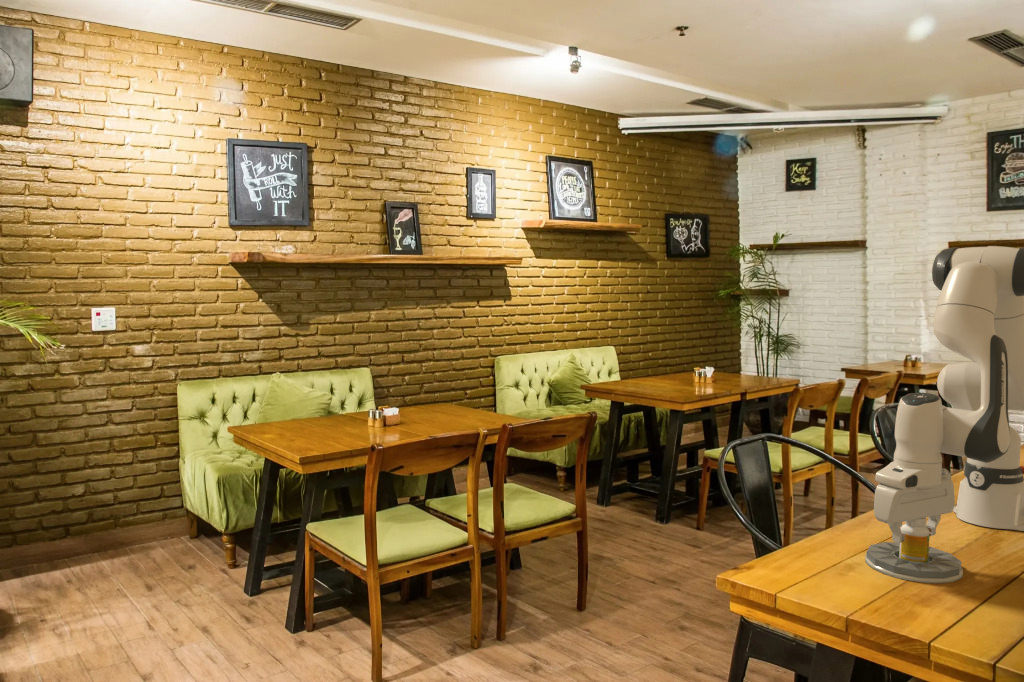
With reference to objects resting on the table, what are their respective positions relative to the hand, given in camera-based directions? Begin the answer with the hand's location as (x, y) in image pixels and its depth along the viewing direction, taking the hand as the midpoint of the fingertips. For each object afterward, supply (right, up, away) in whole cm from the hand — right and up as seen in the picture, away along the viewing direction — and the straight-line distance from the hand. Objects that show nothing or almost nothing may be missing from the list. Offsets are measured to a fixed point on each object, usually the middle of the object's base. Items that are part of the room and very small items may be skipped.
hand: (914, 538), depth 161 cm
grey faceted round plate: (0, -6, 0) cm, 6 cm away
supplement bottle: (0, -5, 0) cm, 5 cm away
